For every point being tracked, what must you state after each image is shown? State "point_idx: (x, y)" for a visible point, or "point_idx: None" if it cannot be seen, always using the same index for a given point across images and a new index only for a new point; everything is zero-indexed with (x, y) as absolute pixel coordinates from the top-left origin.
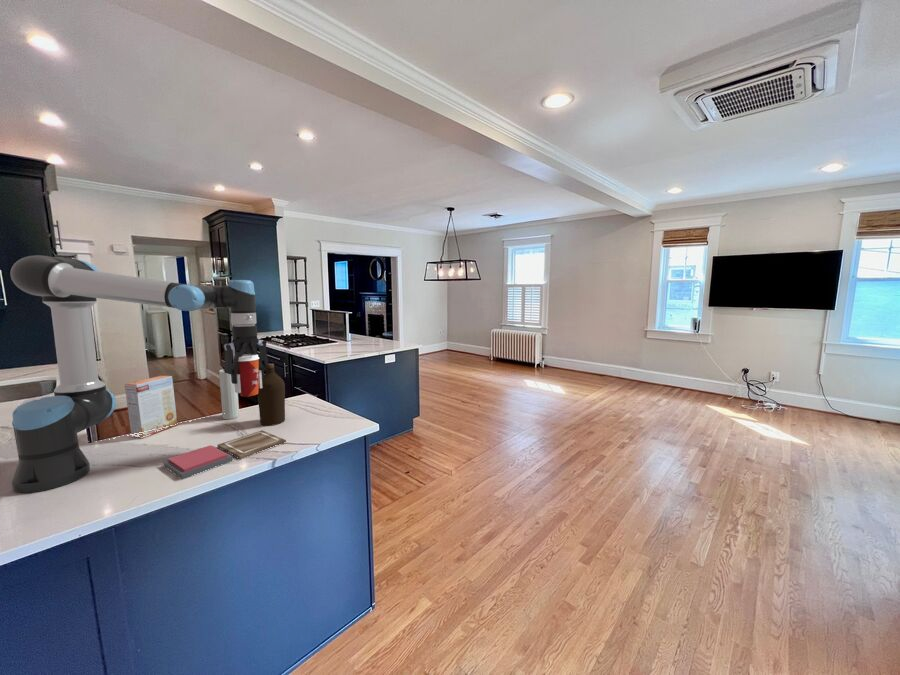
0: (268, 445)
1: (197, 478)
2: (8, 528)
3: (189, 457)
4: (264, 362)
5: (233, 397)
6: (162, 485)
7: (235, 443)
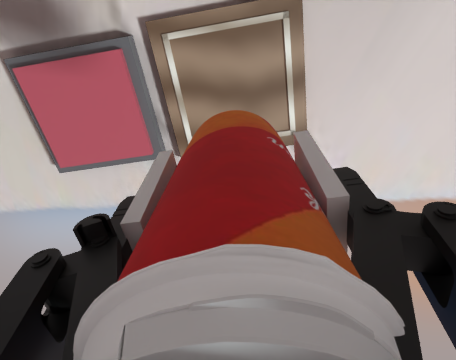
0: None
1: (93, 183)
2: None
3: (66, 104)
4: (434, 297)
5: None
6: (31, 166)
7: (192, 58)
